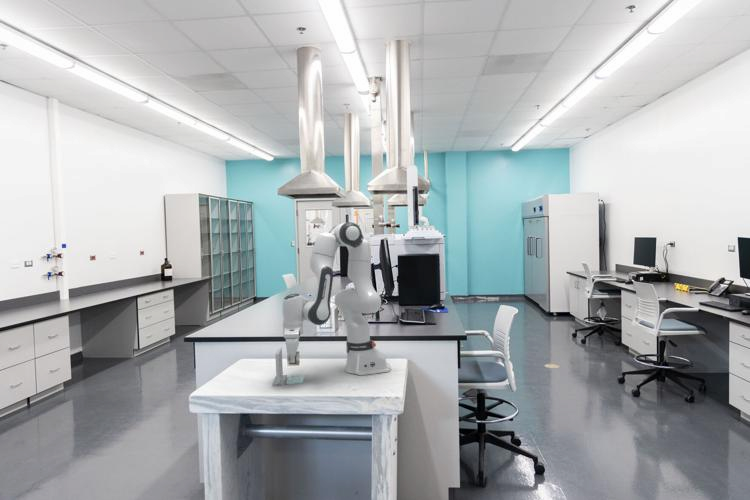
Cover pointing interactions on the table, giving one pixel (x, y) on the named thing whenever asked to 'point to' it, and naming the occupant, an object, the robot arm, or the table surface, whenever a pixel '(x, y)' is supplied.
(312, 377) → the table surface
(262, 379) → the table surface
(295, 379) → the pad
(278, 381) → the screen
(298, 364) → the letter cube
